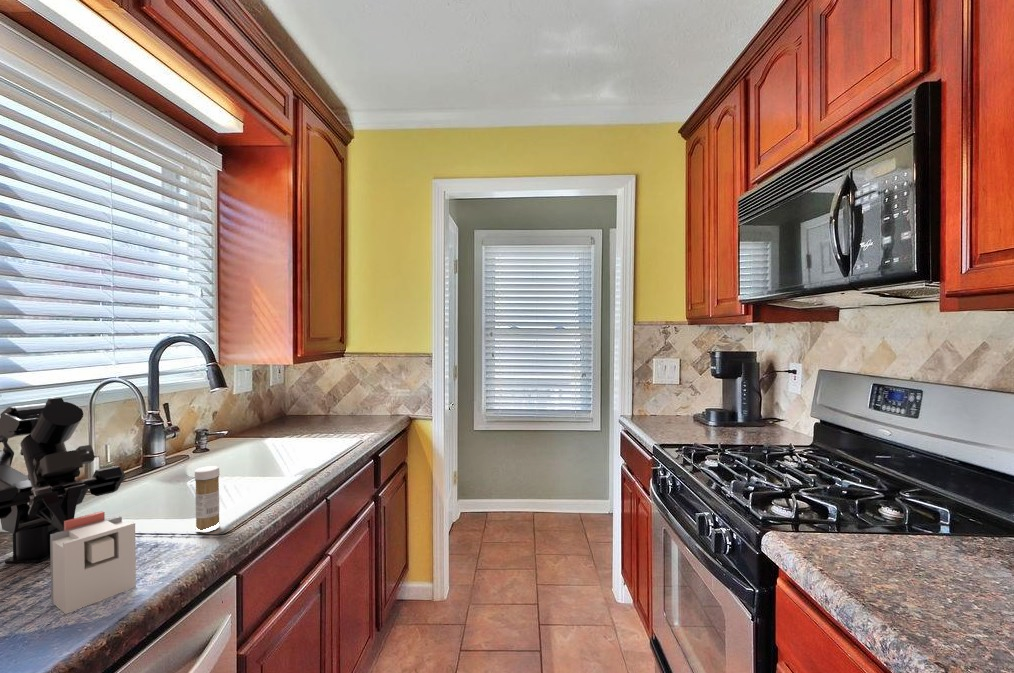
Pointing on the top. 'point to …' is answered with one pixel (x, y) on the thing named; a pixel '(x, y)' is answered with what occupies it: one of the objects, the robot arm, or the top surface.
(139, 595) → the top surface
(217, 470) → the sprinkles bottle
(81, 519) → the button
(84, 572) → the box
